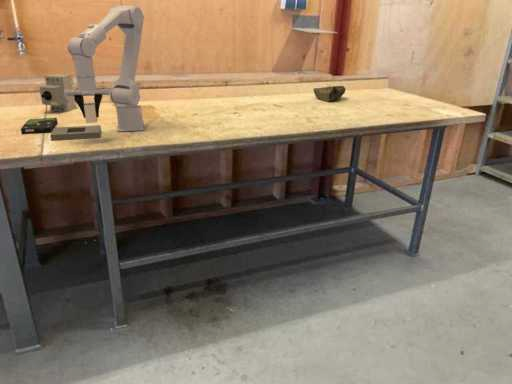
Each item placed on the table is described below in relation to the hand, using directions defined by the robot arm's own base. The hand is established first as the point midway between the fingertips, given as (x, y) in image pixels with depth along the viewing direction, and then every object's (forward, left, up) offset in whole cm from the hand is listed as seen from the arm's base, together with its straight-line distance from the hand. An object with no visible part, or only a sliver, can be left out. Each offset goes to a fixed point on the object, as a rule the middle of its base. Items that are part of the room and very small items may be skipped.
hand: (91, 117), depth 142 cm
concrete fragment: (-115, -51, -9) cm, 126 cm away
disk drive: (+21, -21, -9) cm, 31 cm away
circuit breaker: (+18, -50, -9) cm, 54 cm away
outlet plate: (+7, -8, -8) cm, 14 cm away
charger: (0, 0, -2) cm, 2 cm away
